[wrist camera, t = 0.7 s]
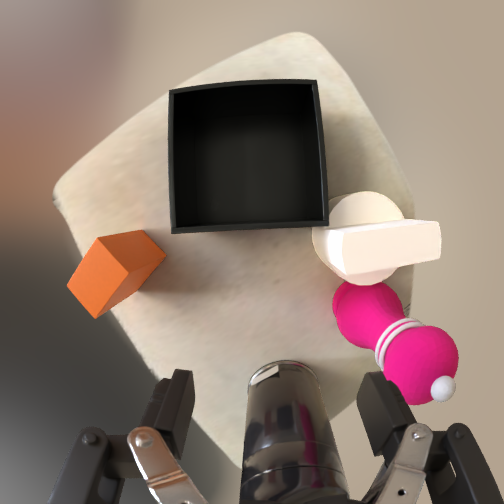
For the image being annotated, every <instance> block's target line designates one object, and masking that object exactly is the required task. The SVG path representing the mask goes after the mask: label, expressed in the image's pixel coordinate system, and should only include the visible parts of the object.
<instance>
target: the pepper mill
mask: <svg viewBox="0 0 504 504" xmlns="http://www.w3.org/2000/svg"><path fill="white" fill-rule="evenodd" d="M332 305H333V312H334V315H335V317H336V318H337V324H338V327H339V330H340V332H341V333H342V335H343V336H344V337H345V338H346V339H347V340H348V341H349V342H350V343H352V344H354V345H356V346H358V347H361V348H366V349H372V350H373V351H374V352H375V359H376V362H377V364H378V366H379V367H380V368H381V370H382V371H383V374H384V376H385V378H386V380H387V381H388V380H391V381H392V382H393V383H395V384H396V385H397V386H398V387H399V389H400V391H401V393H402V395H403V397H404V399H405V401H406V402H407V404H409V405H420V404H425V403H428V402H430V401H432V400H435V401H438V402H444V401H447V400H449V399H450V398H451V397H452V396H453V394H454V392H455V388H456V385H455V382H454V380H453V378H454V376H455V374H456V371H457V367H458V359H459V357H458V350H457V347H456V345H455V343H454V341H453V339H452V338H451V337H450V336H449V335H448V334H447V333H446V332H445V331H443V330H442V329H440V328H437V327H433V326H426V325H424V324H422V323H421V322H420V321H418V320H417V319H414V318H406V317H405V315H404V312H403V308H402V304H401V301H400V300H399V298H398V296H397V294H396V293H395V292H394V291H393V290H392V289H391V288H390V287H389V286H387V285H386V284H384V283H382V282H379V283H376V284H373V285H357V284H353V283H349V282H348V281H345V282H344V283H343V284H342V285H341V286H340V287H339V288H338V289H337V291H336V293H335V295H334V298H333V303H332Z"/></svg>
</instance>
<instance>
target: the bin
mask: <svg viewBox="0 0 504 504" xmlns="http://www.w3.org/2000/svg"><path fill="white" fill-rule="evenodd" d="M168 176H169V202H170V220H171V234H181V233H197V232H214V231H232V230H252V229H274V228H298V227H327V226H329V202H328V184H327V169H326V156H325V144H324V134H323V124H322V115H321V107H320V99H319V92H318V85H317V80H308V79H267V80H246V81H233V82H222V83H213V84H205V85H197V86H191V87H184V88H178V89H172V90H169V105H168Z"/></svg>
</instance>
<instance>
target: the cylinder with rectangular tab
mask: <svg viewBox="0 0 504 504" xmlns="http://www.w3.org/2000/svg"><path fill="white" fill-rule="evenodd" d="M328 202H329V226H327V227H312V242H313V246H314V249H315V251H316V253H317V255H318V257H319V258H320V259H321V260H322V261H323V262H324V263H325V265H327V266H328V267H329V268H330V269H331V270H332V271H334V272H335V273H336V274H337V275H338V276H339V277H341V278H343V279H344V280H346V281H348V282H349V283H353V284H357V285H373V284H376V283H379V282H382V281H383V280H385V279H386V278H388V277H389V276H391V275H392V274H393V273H394V271H395V270H396V269H397V268H398V267H399V266H405V265H410V264H415V263H420V262H426V261H431V260H436V259H439V258H440V255H441V241H442V240H441V232H440V226H439V223H438V222H436V221H425V220H413V219H404V217H403V215H402V213H401V211H400V210H399V208H398V207H397V206H396V204H395V203H394V202H393V201H391V200H390V199H389V198H387V197H386V196H384V195H382V194H379V193H376V192H369V191H361V192H356V193H351V194H346V195H341V196H337V197H334V198H333V199H331V200H329V201H328Z"/></svg>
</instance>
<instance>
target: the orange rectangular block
mask: <svg viewBox="0 0 504 504" xmlns="http://www.w3.org/2000/svg"><path fill="white" fill-rule="evenodd" d="M166 256H167V255H166V254H165V253H164V252H163V251H162V250H161V249H160V248H159V247H158V246H157V245H156V244H155V243H154V242H153V241H152V240H151V239H150V238H149V236H148V235H147V234H146V233H145V232H144V231H143V230H137V231H131V232H125V233H120V234H114V235H109V236H103V237H98V238H96V240H95V241H94V243H93V244H92V246H91V247H90V249H89V250H88V252H87V253H86V255H85V257H84V258H83V260H82V261H81V263H80V265H79V266H78V268H77V270H76V271H75V273H74V274H73V276H72V278H71V279H70V281H69V283H68V284H67V287H68V288H69V289H70V290H71V292H72V293H73V294H74V295H75V297H76V298H77V299H78V300H79V301H80V302H81V304H82V305H83V306H84V307H85V308H86V309H87V310H88V312H89V313H90V314H91V315H92V316H93V317H94V318H95V319H96V318H97V317H99V316H100V315H102V314H103V313H105V312H106V311H108V310H109V309H111V308H112V307H114V306H115V305H117V304H118V303H120V302H121V301H123V300H124V299H126V298H127V297H129V296H130V295H132V294H133V293H135V292H136V291H137V290H138V289H139V288H140V287H141V285H142V284H143V283H144V282H145V280H146V279H147V278H148V277H149V276H150V274H151V273H152V272H153V271H154V270H155V269H156V267H157V266H158V265H159V264H160V263H161V262H162V260H163V259H164V258H165V257H166Z"/></svg>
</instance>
